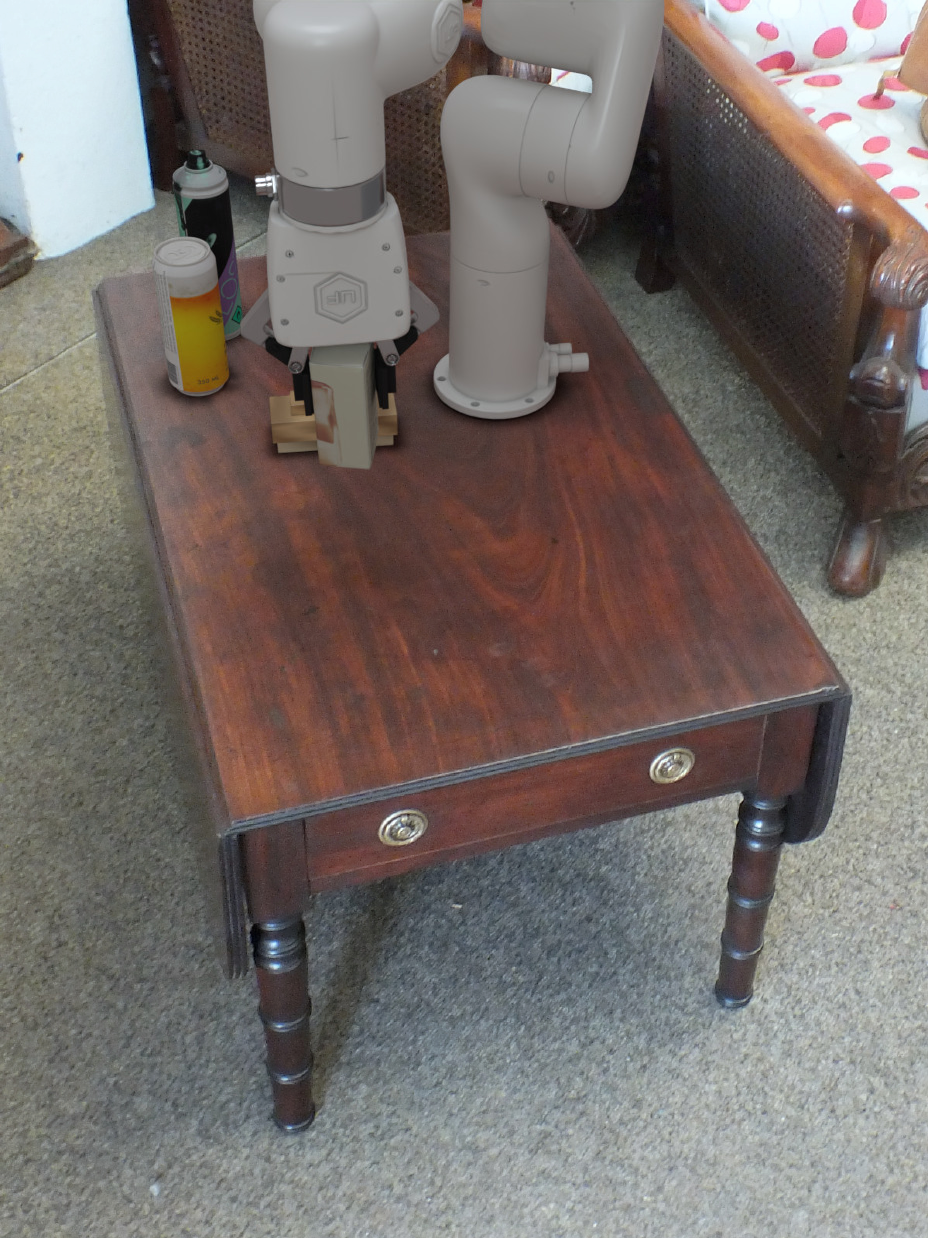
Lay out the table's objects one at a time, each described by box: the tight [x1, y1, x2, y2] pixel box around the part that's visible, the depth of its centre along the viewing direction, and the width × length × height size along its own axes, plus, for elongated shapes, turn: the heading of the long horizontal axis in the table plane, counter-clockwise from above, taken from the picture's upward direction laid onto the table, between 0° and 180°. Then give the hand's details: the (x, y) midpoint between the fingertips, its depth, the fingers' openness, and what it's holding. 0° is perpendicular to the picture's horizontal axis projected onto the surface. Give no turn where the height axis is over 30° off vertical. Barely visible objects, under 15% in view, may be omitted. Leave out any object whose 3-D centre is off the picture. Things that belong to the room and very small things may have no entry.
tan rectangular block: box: [268, 390, 399, 454], centre depth 134 cm, size 12×4×5 cm, turn 98°
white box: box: [309, 342, 379, 470], centre depth 108 cm, size 5×4×10 cm
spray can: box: [172, 149, 244, 342], centre depth 142 cm, size 6×6×20 cm
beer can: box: [150, 236, 230, 397], centre depth 137 cm, size 6×6×15 cm
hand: (345, 400), depth 108 cm, fingers closed on white box, 5 cm apart
